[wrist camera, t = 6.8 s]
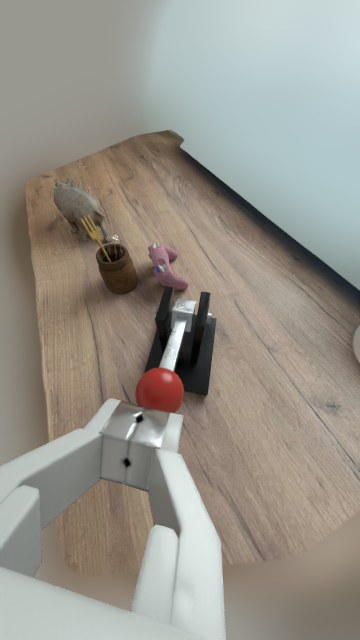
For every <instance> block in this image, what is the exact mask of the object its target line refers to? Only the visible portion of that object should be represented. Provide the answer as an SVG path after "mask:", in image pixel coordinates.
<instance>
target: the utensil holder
mask: <svg viewBox="0 0 360 640" xmlns="http://www.w3.org/2000/svg"><path fill="white" fill-rule="evenodd" d="M87 217H88V218H89V220H90V222H91V224H92V226H93V228H94V229H95V230H93V228H92V227H91V225H90V223H89V222H88V220H87V218H86V217H85V216H84V219H85V221H86V223H87V224H88V226H89V228H90V230H91V231H92V233H91V232H90V231H89V229H88V227H87V226H86V224H85V222H84V221H83V219H82V218H81V221H82V223H83V225H84V227H85V228H86V230H87V232H88V234H89V235H90V237H91V239H96V240H97V242H98V244H99V245H100V247H101V248H100V249H99V250H98V251H97V254H96V259H97V262H98V264H99V271H100V273H101V276H102V278H103V280H104V282H105V284H106V286H107V287H108V288H109V290H111V291H112V292H114V293H118V294H122V293H127V292H129V291H131V290H132V289H133V288H134V287H135V286H136V284H137V275H136V271H135V267H134V264H133V261H132V259H131V258H130V256H129V253H128V251H127V249H126V248H125V247H124V246H123V245H120V244H121V242H120V243H119V244H110V243H109V244H108V245H107V243H106V245H105V246H102V244H101V242H100V241H99V235H100V234H99V232H98V230H97V228H96V226H95V225H94V223H93V221H92V219H91V218H90V216H89V215H87ZM113 235H114V234H113ZM113 235H112V236H113ZM114 236H115V235H114ZM110 237H111V236H110ZM116 237H117V236H116ZM119 238H120V237H119ZM107 239H108V240H109V236H108V238H107ZM110 240H111V239H110ZM113 240H114V241H115V239H114V237H113ZM106 241H107V240H106ZM109 242H110V241H109ZM118 242H119V241H118ZM122 243H123V242H122Z"/></svg>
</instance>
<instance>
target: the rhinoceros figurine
mask: <svg viewBox="0 0 360 640" xmlns="http://www.w3.org/2000/svg"><path fill="white" fill-rule="evenodd" d="M67 180H68V181H67V183H62V182H59V181H58V180H57V179H55V181H56V182H57V183H56V184H55V186H56V187H57V188H55V189H54V191H55V192H54V202H55V204H56V206H57V207H58V209H59V210H60V211H61V212H62V214H63V216H64V217H65V218H66V219H67V220H68V222H69V224H70V225H71V226H72V228H73V229H72V232H74V233H78V231H79V229H78V227H77V225H76V224H75V223H78V225H79V226H80V227H81V228H82V229H83V231H84V232H83V235H82V237H81V238H82V241H88V240H89V239H90V237H89V236H90V235H89V234H88V232H87V230H86V228H85V227H84V225H83V223H82V221H81V218H82V219H83V221H84V222H85V224H86V226H87V227H88V229H89V231H90V232H91V230H90V228H89V226H88V224H87V223H86V221H85V219H84V216H85V217H86V218H87V220H88V222H89V223H90V225H91V227H92V228H93V226H92V224H91V222H90V220H89V218H88V217H87V215H89V216H90V218H91V219H92V221H93V223H94V225H95V226H99V227H101V230H102V233H103V236H104V240H103V242H105V240H107V241H108V242H107V243H109V241H112V239H111V238H110V237H109V240H108V239H107V238H108V236H109V235H108V233H107V229H106V225H105V220H104V218H105V215H104V214H103V211H102V207H101V204H100V202H99V201H98V200H97V199H96V198H95V197H94V196H93V195H92V194H90V193H89V192H87V191H84V190H82V186H81V182H80V181H79V186H78V187H77V186H76V185H73V186H71V183H72V182H73V180H72V178H67ZM110 239H111V240H110ZM105 243H106V242H105Z"/></svg>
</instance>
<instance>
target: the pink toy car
mask: <svg viewBox="0 0 360 640" xmlns="http://www.w3.org/2000/svg"><path fill="white" fill-rule="evenodd" d="M148 249H149V252H150V254H151V255H150V254H149V257H150V259H152V262H153V264H154V267H155V269H154V273H155V276H156V278H157V279H158V281H159V282H160V283H161V285H163V286H169V287H174V289H176V290H184V289H186V288H187V287H188V282H187V281H186V280H185V279H182V278H180V277H178V276H176V275H175V274H173V273H172V270H171V267H170V264H169V260H174V259H176V258H177V253H176V251H174V250H173V249H171V248H169V247H166V246H165V245H163V244H162V243H156V244H153V245H151V246H150V247H148Z"/></svg>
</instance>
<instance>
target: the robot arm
mask: <svg viewBox="0 0 360 640" xmlns="http://www.w3.org/2000/svg"><path fill="white" fill-rule="evenodd" d="M182 422H183V415H180V414H175V413H169V412H165V411H160V410H156V409H152V408H147V407H143V406H140V405H136V404H132V403H128V402H125V401H120V400H116V399H112V398H109V399H107V400H106V401H105V403H104V404H103V405H102V406H101V408H100V409H99V410H98V411H97V413H96V414H95V415H94V416H93V417H92V419H91V420H90V421H89V422H88V424H87V425H86V426H85V427H84V429H80V428H78V429H76V430H74V431H72V432H70V433H68V434H66V435H64V436H62V437H60V438H57V439H55V440H53V441H51V442H49V443H47V444H45V445H43V446H41V447H39V448H37V449H35V450H32V451H30V452H28V453H26V454H24V455H22V456H20V457H18V458H16V459H14V460H12V461H9V462H7V463H5V464H3V465H1V466H0V640H226V633H225V615H224V595H223V577H222V556H221V541H220V539H219V537H218V535H217V532H216V530H215V528H214V526H213V523H212V521H211V519H210V517H209V515H208V512H207V510H206V508H205V506H204V503H203V501H202V499H201V497H200V495H199V492H198V490H197V488H196V486H195V483H194V481H193V479H192V477H191V475H190V472H189V470H188V468H187V466H186V463H185V461H184V459H183V457H182V455H181V454H177V452H178V446H179V440H180V434H181V428H182ZM99 479H104V480H108V481H112V482H116V483H120V484H124V485H127V486H130V487H133V488H137V489H140V490H143V491H146V492H148V495H149V501H150V506H151V512H152V517H153V523H154V527H153V528H151V529H150V531H149V535H148V539H147V544H146V548H145V552H144V556H143V561H142V565H141V569H140V573H139V577H138V582H137V586H136V590H135V594H134V598H133V603H132V607H131V611H127V610H124V609H121V608H119V607H116V606H113V605H110V604H107V603H104V602H101V601H98V600H96V599H93V598H90V597H87V596H84V595H81V594H78V593H75V592H73V591H70V590H67V589H64V588H61V587H58V586H55V585H52V584H49V583H46V582H44V581H41V580H38V579H35V578H33V577H34V575H35V573H36V571H37V570H38V568H39V566H40V564H41V562H42V552H41V551H42V550H41V531H42V530H43V529H44V528H45V527H46V526H47V525H48V524H50V523H51V522H52V521H53V520H54V519H56V518H57V517H58V516H59V515H60V514H61V513H63V512H64V511H65V510H66V509H67V508H68V507H69V506H71V505H72V504H73V503H74V502H75V501H76V500H77V499H79V498H80V497H81V496H82V495H83V494H84V493H86V492H87V491H88V490H89V489H90V488H91V487H92V486H94V485H95V484H96V483H97V482H98V481H99Z"/></svg>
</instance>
